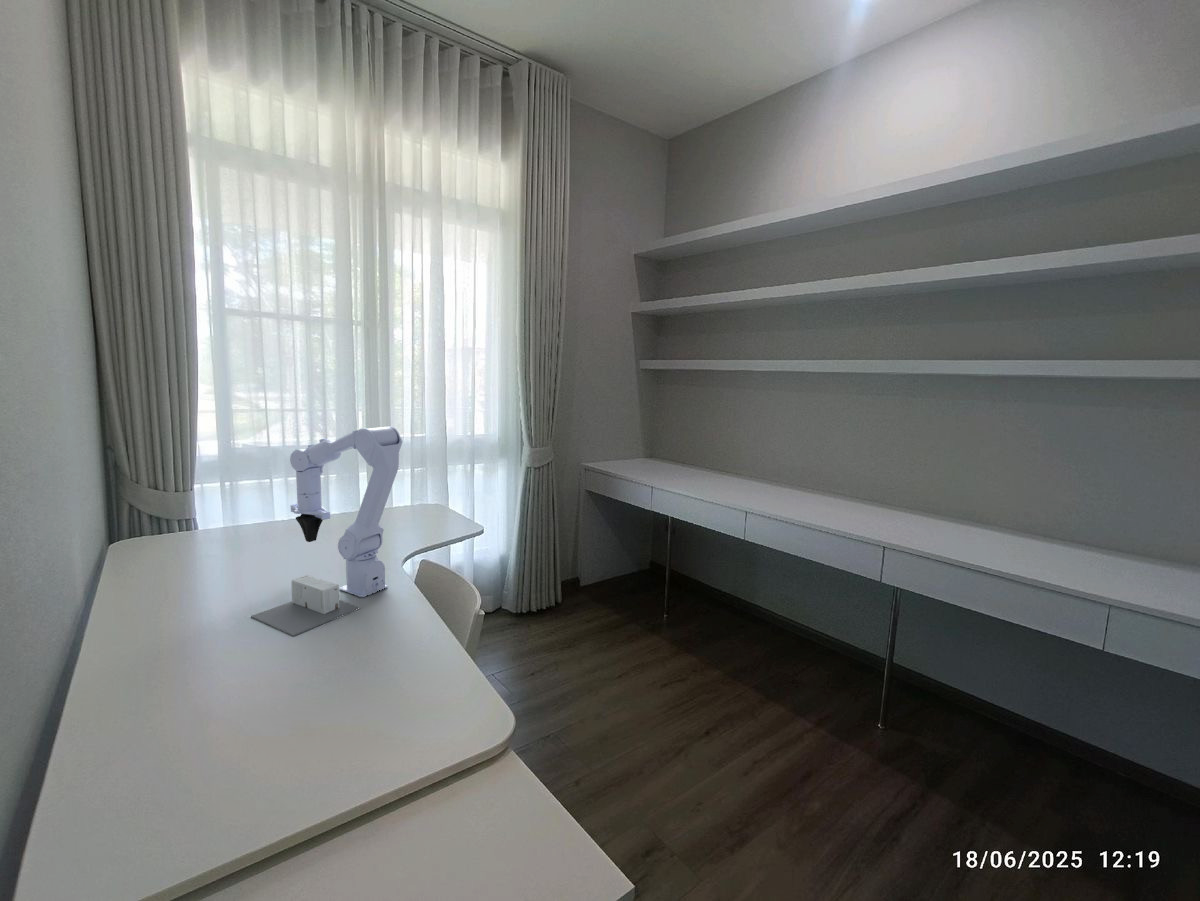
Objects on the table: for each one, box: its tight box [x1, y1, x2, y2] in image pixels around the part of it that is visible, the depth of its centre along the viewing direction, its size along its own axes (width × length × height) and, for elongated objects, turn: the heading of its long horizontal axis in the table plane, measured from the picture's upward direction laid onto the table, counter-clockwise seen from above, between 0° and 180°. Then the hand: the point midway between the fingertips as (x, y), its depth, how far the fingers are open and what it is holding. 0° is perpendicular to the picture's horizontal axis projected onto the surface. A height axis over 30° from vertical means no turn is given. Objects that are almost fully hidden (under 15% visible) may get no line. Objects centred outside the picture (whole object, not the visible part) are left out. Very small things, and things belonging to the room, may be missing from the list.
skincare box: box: [291, 574, 341, 614], centre depth 123 cm, size 6×4×12 cm
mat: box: [250, 599, 360, 637], centre depth 120 cm, size 16×16×1 cm
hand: (311, 540), depth 140 cm, fingers closed
